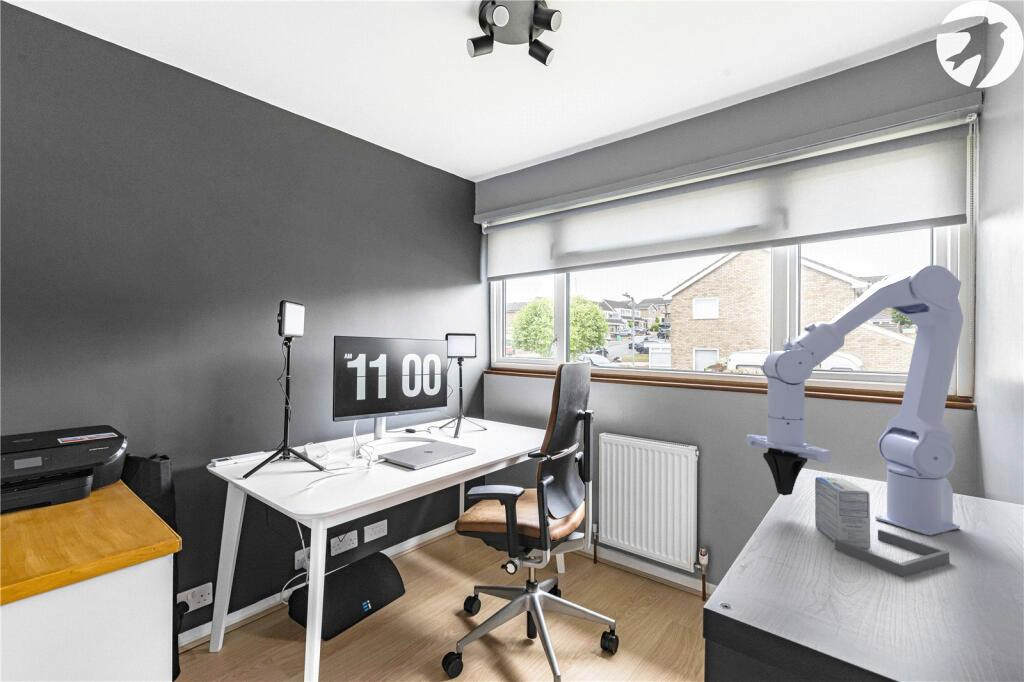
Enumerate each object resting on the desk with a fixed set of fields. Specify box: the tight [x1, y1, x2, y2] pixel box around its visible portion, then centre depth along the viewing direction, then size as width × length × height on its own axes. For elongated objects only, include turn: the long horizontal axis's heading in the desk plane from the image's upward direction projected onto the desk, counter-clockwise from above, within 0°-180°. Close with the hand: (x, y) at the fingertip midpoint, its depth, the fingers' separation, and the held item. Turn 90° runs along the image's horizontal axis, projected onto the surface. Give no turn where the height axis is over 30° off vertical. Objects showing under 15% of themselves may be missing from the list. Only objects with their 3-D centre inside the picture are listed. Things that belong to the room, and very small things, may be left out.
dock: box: [834, 528, 950, 578], centre depth 66 cm, size 11×9×2 cm
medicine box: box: [814, 476, 871, 550], centre depth 72 cm, size 8×4×9 cm, turn 168°
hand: (784, 493), depth 81 cm, fingers closed
